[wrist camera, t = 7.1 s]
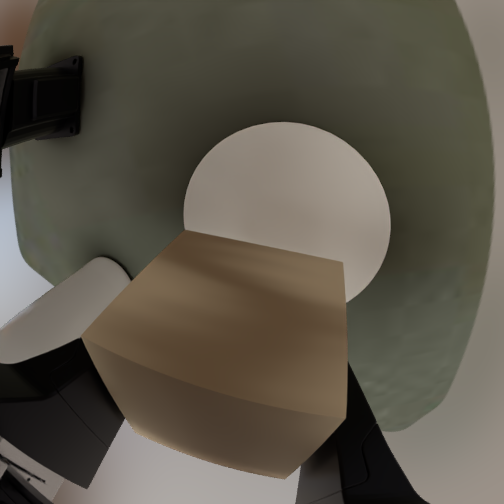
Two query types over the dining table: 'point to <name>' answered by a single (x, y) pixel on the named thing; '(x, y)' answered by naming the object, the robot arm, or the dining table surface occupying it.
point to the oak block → (229, 352)
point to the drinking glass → (62, 311)
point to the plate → (293, 197)
